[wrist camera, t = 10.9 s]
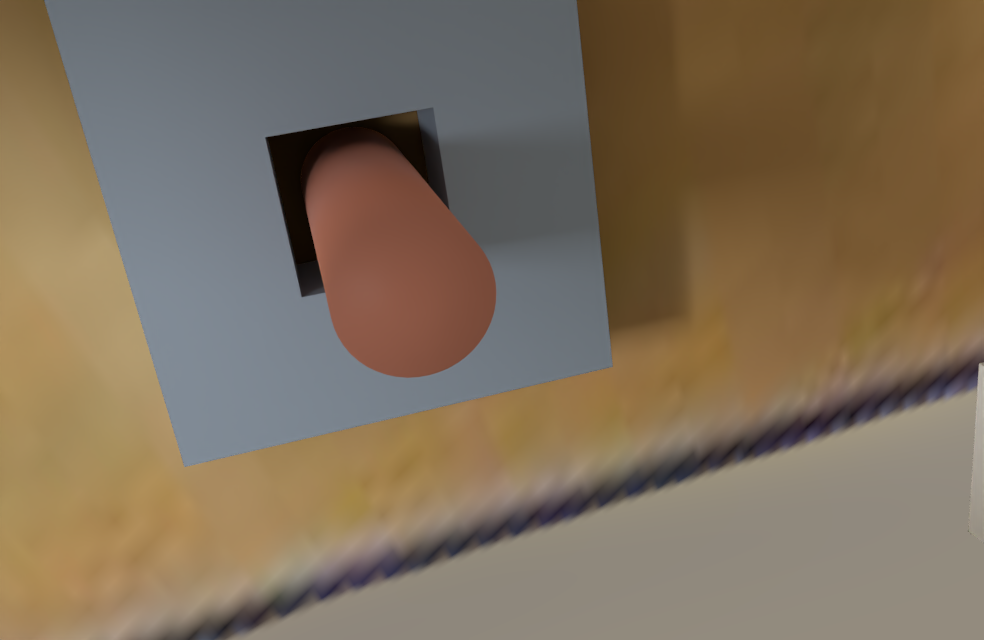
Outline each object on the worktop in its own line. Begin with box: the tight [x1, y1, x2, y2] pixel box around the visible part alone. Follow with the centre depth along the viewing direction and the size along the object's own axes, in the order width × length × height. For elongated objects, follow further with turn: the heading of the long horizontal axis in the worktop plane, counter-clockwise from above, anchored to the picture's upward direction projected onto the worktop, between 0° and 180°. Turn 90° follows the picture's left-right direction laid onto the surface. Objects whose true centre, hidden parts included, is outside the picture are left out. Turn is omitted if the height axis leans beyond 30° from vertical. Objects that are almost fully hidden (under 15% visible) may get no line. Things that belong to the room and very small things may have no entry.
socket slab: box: [44, 0, 613, 467], centre depth 33 cm, size 16×16×4 cm
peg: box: [301, 127, 496, 378], centre depth 29 cm, size 4×4×14 cm
